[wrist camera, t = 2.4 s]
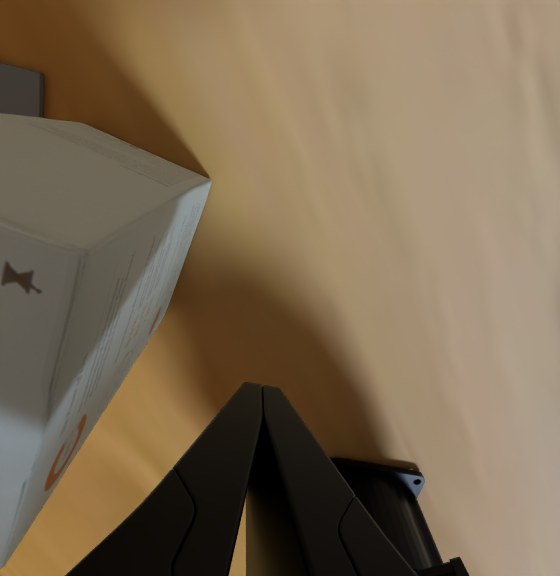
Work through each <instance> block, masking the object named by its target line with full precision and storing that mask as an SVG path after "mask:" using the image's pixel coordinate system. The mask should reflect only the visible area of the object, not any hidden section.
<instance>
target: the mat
mask: <svg viewBox="0 0 560 576" xmlns="http://www.w3.org/2000/svg"><path fill="white" fill-rule="evenodd" d="M0 113H3V114H13V115H22V116H31V117H39V118H43V74H42V73H38V72H34V71H30V70H26V69H22V68H18V67H14V66H11V65H7V64H3V63H0Z"/></svg>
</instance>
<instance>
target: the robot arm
mask: <svg viewBox="0 0 560 576" xmlns="http://www.w3.org/2000/svg"><path fill="white" fill-rule="evenodd" d="M335 466H337V467H335ZM424 483H425V480H424V477H423V475H422V473H421V472H418V471H413V470H407V469H401V468H395V467H388V466H382V465H376V464H370V463H364V462H358V461H352V460H345V459H339V458H332V459H330V458H329V457H328V456H327V454H326V453H325V451H324V450H323V449H322V447H321V446H320V444H319V443H318V441H317V440H316V439H315V437H314V436H313V434H312V433H311V432H310V430H309V429H308V427H307V426H306V425H305V423H304V422H303V420H302V419H301V417H300V416H299V415H298V413H297V412H296V410H295V409H294V408H293V406H292V405H291V403H290V402H289V400H288V399H287V398H286V396H285V395H284V393H283V392H282V391H281V389H280V388H278V387H272V386H266V385H264V386H263V387H262V386H261V385H260V384H255V383H249V382H245V383H243V384H242V386H241V387H240V388H239V389H238V390H237V391H236V393H235V394H234V395H233V396H232V397H231V399H230V400H229V401H228V402H227V403H226V405H225V406H224V407H223V408H222V409H221V411H220V412H219V413H218V414H217V415H216V417H215V418H214V419H213V420H212V421H211V423H210V424H209V425H208V426H207V427H206V429H205V430H204V431H203V432H202V433H201V435H200V436H199V437H198V438H197V439H196V441H195V442H194V443H193V444H192V445H191V447H190V448H189V449H188V450H187V451H186V453H185V454H184V455H183V456H182V457H181V458H180V460H179V461H178V462H177V463H176V464H175V466H174V467H173V469H172V470H170V471H169V473H168V474H167V475H166V476H165V477H164V479H163V480H162V481H161V482H160V483H159V484H158V486H157V487H156V488H155V489H154V490H153V491H152V492H151V493H150V494H149V496H148V497H147V498H146V499H145V500H144V501H143V502H142V503H141V504H140V505H139V506H138V507H137V508H136V509H135V510H134V511H133V512H132V513H131V514H130V515H129V516H128V517H127V518H126V519H125V520H124V521H123V522H122V523H121V524H120V525H119V526H118V527H117V528H116V529H115V530H114V531H113V532H111V533H110V534H109V535H108V536H107V537H106V538H105V539H104V540H103V541H102V542H101V543H100V544H99V545H97V546H96V547H95V548H94V549H93V550H92V551H91V552H90V553H89V554H88V555H87V556H86V557H84V558H83V559H82V560H81V561H80V562H79V563H78V564H77V565H76V566H75V567H74V568H73V569H72V570H70V571H69V572H68V573H67V574H66V575H65V576H229V571H230V567H231V562H232V558H233V553H234V548H235V544H236V539H237V535H238V530H239V526H240V521H241V517H242V512H243V508H244V503H245V498H246V576H469V574H468V572H467V570H466V568H465V566H464V564H463V562H462V560H461V558H460V557H457V558H453V559H449V560H450V562H447V563H443V561H442V559H441V556H440V554H439V551H438V549H437V547H436V544H435V542H434V539H433V537H432V535H431V532H430V530H429V527H428V525H427V523H426V520H425V518H424V515H423V513H422V511H421V508H420V506H419V504H418V501H417V497H418V495H419V493H420V491H421V489H422V487H423V485H424Z"/></svg>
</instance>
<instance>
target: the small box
mask: <svg viewBox="0 0 560 576" xmlns="http://www.w3.org/2000/svg"><path fill="white" fill-rule="evenodd" d="M211 184H212V180H211V179H209V178H206V177H204V176H202V175H199V174H197V173H195V172H193V171H190V170H188V169H186V168H183V167H181V166H179V165H177V164H174V163H172V162H170V161H168V160H165V159H163V158H161V157H158V156H156V155H154V154H152V153H149V152H147V151H145V150H143V149H140V148H138V147H136V146H134V145H131V144H129V143H127V142H125V141H123V140H120V139H118V138H116V137H114V136H112V135H109V134H107V133H105V132H102V131H100V130H98V129H95V128H93V127H91V126H89V125H87V124H84V123H81V122H73V121H63V120H53V119H46V118H39V117H31V116H22V115H13V114H3V113H0V569H1V568H2V567H4V566H5V564H6V563H7V561H8V560H9V558H10V557H11V555H12V554H13V552H14V551H15V549H16V548H17V546H18V544H19V543H20V541H21V540H22V538H23V537H24V535H25V534H26V532H27V531H28V529H29V528H30V526H31V525H32V523H33V521H34V520H35V518H36V517H37V515H38V514H39V512H40V511H41V509H42V508H43V506H44V504H45V503H46V501H47V500H48V498H49V497H50V495H51V494H52V492H53V490H54V489H55V487H56V486H57V484H58V482H59V481H60V479H61V478H62V476H63V474H64V473H65V471H66V470H67V468H68V466H69V465H70V463H71V462H72V460H73V459H74V457H75V456H76V454H77V452H78V451H79V449H80V448H81V446H82V445H83V443H84V442H85V440H86V438H87V437H88V435H89V434H90V432H91V431H92V429H93V427H94V426H95V424H96V423H97V421H98V420H99V418H100V417H101V415H102V413H103V412H104V410H105V409H106V407H107V406H108V404H109V402H110V401H111V399H112V398H113V396H114V395H115V393H116V392H117V390H118V389H119V387H120V385H121V384H122V382H123V380H124V379H125V377H126V376H127V374H128V372H129V371H130V369H131V368H132V366H133V364H134V363H135V361H136V360H137V358H138V357H139V355H140V353H141V352H142V350H143V349H144V347H145V346H146V344H147V343H148V341H149V339H150V338H151V336H152V335H153V333H154V332H155V330H156V329H157V327H158V326H159V324H160V323H161V321H162V320H163V318H164V316H165V313H166V310H167V308H168V305H169V303H170V300H171V297H172V294H173V292H174V289H175V286H176V284H177V281H178V278H179V275H180V273H181V270H182V267H183V264H184V261H185V259H186V256H187V253H188V250H189V247H190V245H191V242H192V239H193V236H194V233H195V231H196V228H197V225H198V222H199V219H200V217H201V214H202V211H203V208H204V205H205V202H206V199H207V196H208V193H209V190H210V187H211Z"/></svg>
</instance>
